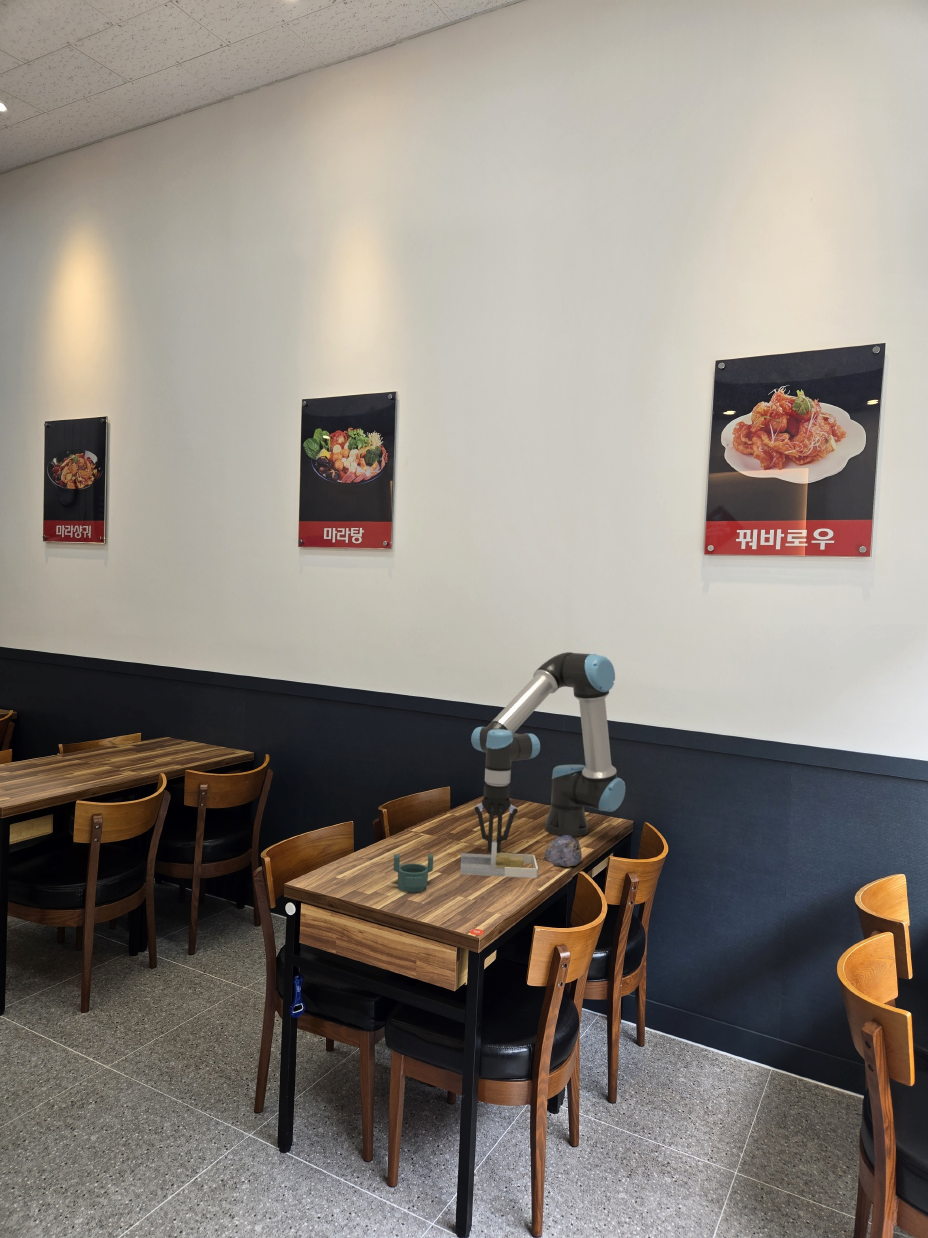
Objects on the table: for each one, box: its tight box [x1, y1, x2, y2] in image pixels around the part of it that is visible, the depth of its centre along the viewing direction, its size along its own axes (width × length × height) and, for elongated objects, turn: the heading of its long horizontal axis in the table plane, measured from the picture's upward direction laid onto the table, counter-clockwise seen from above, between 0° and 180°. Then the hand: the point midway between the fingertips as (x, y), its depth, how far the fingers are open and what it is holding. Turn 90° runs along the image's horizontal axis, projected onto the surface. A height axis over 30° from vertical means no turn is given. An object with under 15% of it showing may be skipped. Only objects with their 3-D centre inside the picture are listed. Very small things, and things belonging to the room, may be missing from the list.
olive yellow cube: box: [496, 851, 511, 867], centre depth 228 cm, size 4×4×4 cm
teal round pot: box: [393, 853, 434, 894], centre depth 212 cm, size 9×9×9 cm
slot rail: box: [460, 852, 505, 877], centre depth 228 cm, size 12×13×3 cm
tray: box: [503, 853, 539, 879], centre depth 228 cm, size 10×13×4 cm
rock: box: [544, 835, 583, 867], centre depth 239 cm, size 11×10×10 cm
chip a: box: [510, 855, 525, 868], centre depth 228 cm, size 4×4×4 cm
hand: (493, 863), depth 228 cm, fingers closed
